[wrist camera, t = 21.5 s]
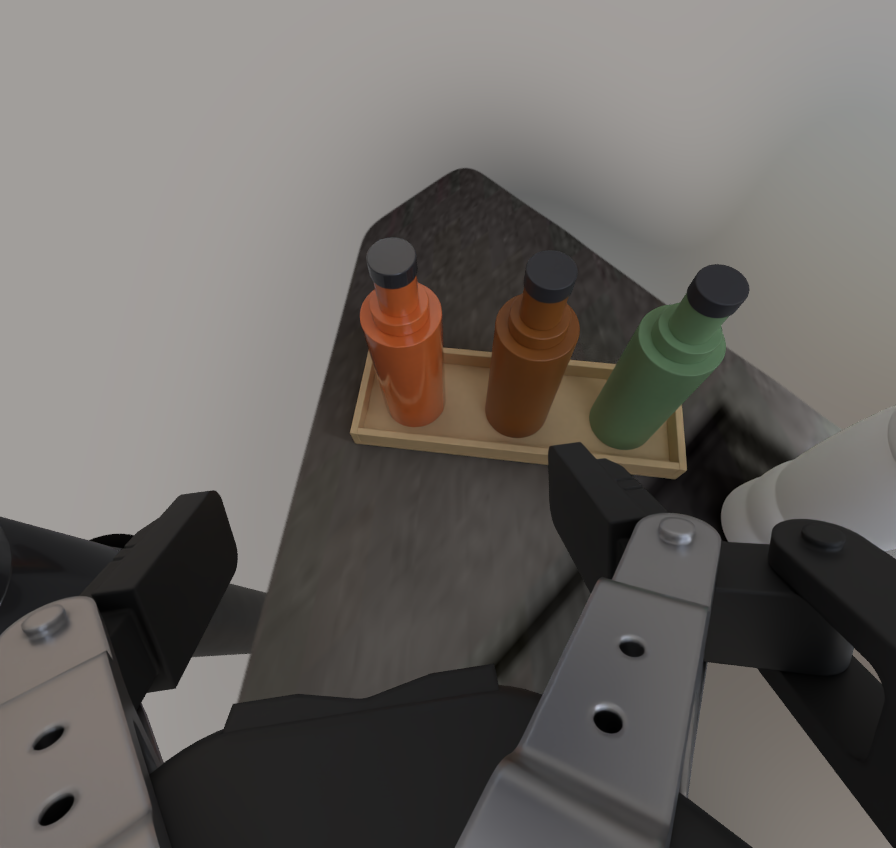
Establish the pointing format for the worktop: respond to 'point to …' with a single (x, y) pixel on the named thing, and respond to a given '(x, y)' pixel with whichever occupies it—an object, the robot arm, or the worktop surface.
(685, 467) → the tray
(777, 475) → the water bottle
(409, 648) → the worktop surface
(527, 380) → the amber bottle
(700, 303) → the sage bottle
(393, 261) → the terracotta bottle
